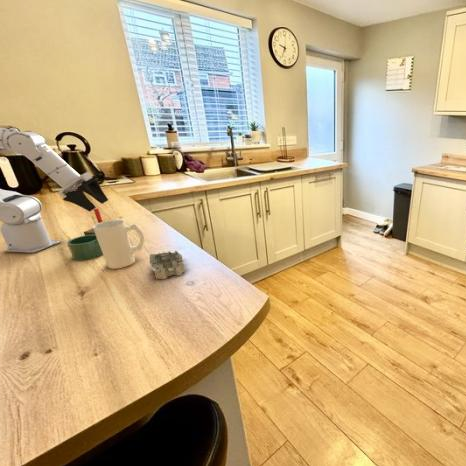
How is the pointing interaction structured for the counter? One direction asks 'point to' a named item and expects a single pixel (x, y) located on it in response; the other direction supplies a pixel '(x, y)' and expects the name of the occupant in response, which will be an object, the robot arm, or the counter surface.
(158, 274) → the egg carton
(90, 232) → the straw holder
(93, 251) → the cup
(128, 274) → the counter surface
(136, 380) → the counter surface
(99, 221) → the straw
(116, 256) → the mug
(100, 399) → the counter surface
